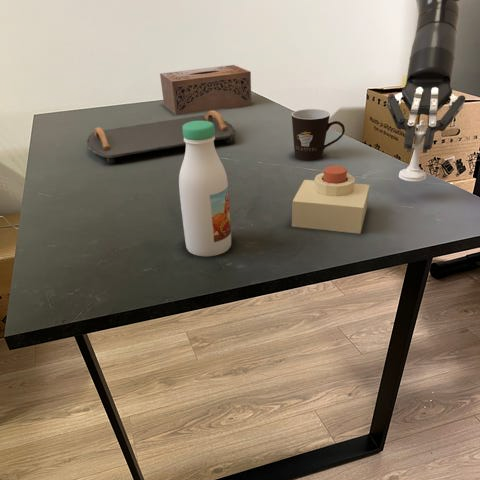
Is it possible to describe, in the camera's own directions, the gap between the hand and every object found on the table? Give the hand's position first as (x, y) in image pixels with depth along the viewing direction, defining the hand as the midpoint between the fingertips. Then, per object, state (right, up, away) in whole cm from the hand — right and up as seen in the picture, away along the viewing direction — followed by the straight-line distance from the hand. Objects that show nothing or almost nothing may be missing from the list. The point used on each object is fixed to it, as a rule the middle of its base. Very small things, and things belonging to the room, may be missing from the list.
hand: (417, 150), depth 83 cm
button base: (-15, -12, +3) cm, 19 cm away
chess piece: (+1, -3, +5) cm, 6 cm away
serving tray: (-52, +17, +42) cm, 69 cm away
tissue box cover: (-42, +41, +74) cm, 94 cm away
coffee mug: (-14, +8, +29) cm, 33 cm away
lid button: (-15, -5, +1) cm, 15 cm away
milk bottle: (-37, -18, -3) cm, 41 cm away
